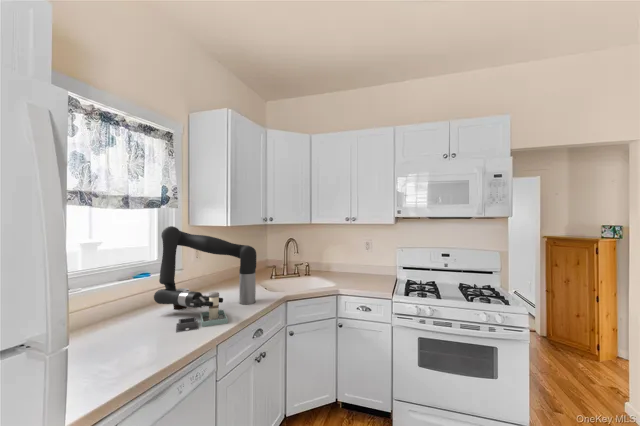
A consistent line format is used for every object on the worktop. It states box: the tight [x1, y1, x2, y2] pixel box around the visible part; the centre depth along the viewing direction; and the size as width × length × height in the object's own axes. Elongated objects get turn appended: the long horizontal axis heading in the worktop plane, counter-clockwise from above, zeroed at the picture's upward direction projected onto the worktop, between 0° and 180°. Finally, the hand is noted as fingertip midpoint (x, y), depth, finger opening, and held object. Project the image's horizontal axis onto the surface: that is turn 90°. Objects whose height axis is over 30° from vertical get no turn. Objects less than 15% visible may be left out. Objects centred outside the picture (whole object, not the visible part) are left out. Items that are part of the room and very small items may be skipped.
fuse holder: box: [175, 316, 199, 333], centre depth 132 cm, size 12×9×4 cm
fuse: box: [207, 291, 220, 321], centre depth 141 cm, size 5×5×13 cm
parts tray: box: [200, 309, 229, 328], centre depth 141 cm, size 15×11×3 cm
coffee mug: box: [172, 287, 190, 311], centre depth 164 cm, size 12×9×10 cm
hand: (217, 302), depth 140 cm, fingers open, 6 cm apart
